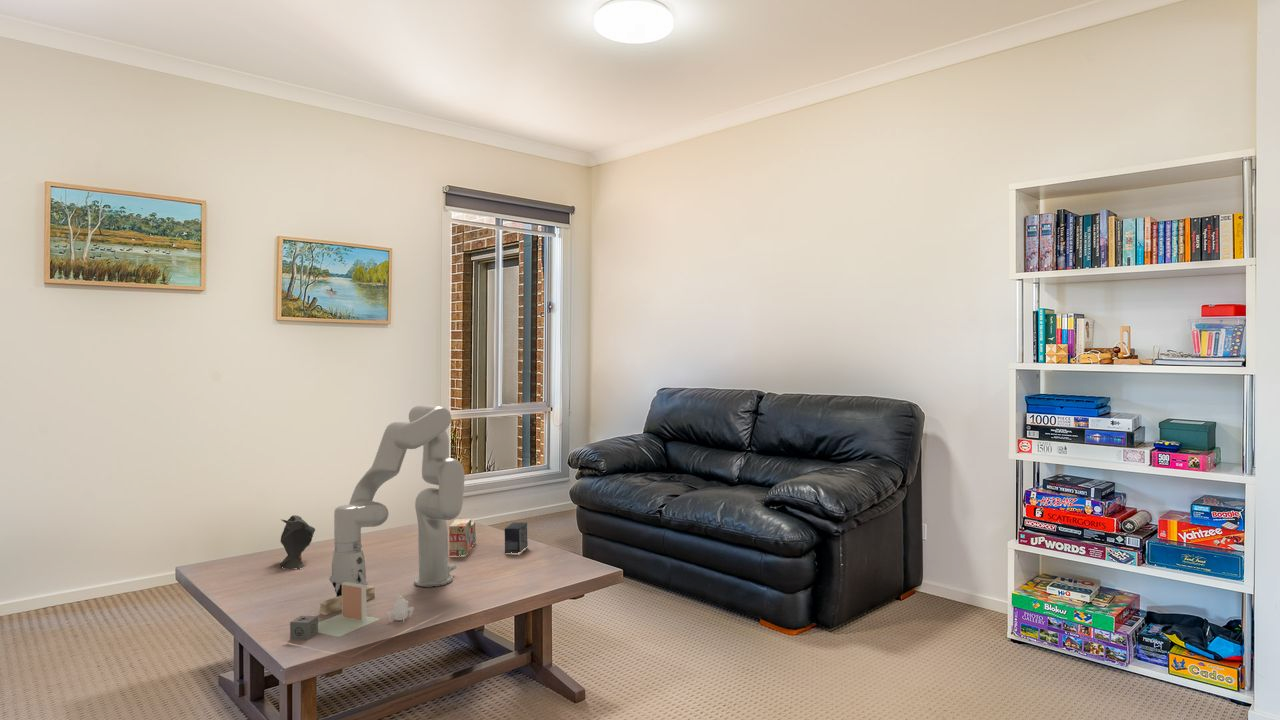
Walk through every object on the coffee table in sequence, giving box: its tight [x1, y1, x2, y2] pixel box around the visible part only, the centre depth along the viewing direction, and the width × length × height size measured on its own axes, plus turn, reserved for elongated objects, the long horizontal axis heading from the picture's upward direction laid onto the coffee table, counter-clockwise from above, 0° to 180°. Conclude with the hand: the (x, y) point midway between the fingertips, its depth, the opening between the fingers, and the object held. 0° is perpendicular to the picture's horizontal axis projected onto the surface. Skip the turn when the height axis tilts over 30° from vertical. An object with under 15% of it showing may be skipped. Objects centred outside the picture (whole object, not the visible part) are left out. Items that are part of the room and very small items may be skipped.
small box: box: [504, 522, 529, 554], centre depth 284 cm, size 11×6×10 cm, turn 172°
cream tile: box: [341, 582, 367, 622], centre depth 209 cm, size 2×8×10 cm, turn 65°
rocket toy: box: [386, 593, 414, 623], centre depth 208 cm, size 5×5×8 cm
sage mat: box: [317, 612, 380, 638], centre depth 205 cm, size 15×14×1 cm
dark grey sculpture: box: [279, 514, 316, 570], centre depth 271 cm, size 14×15×18 cm
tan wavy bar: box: [319, 585, 376, 616], centre depth 221 cm, size 18×2×4 cm, turn 151°
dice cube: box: [289, 615, 319, 641], centre depth 197 cm, size 5×5×5 cm
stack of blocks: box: [448, 518, 477, 556], centre depth 287 cm, size 21×6×12 cm, turn 3°
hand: (348, 605), depth 221 cm, fingers open, 5 cm apart
